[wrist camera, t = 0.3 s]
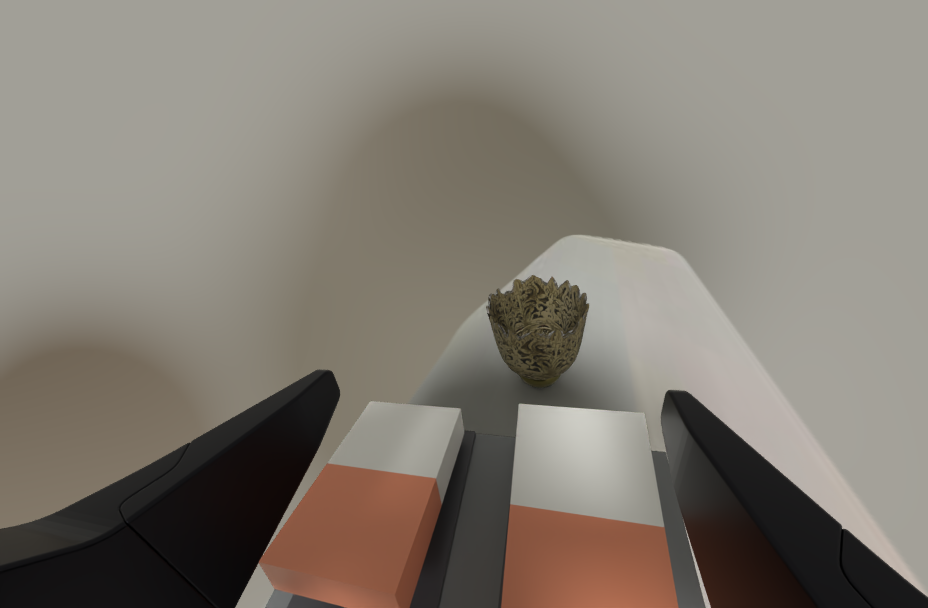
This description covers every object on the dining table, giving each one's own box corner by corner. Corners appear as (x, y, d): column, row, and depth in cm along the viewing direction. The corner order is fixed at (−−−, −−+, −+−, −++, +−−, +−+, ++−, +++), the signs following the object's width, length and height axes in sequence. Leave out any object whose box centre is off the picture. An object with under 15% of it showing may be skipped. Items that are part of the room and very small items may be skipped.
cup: (546, 336, 35) (544, 265, 30) (604, 382, 29) (611, 303, 25) (481, 368, 32) (469, 297, 28) (530, 425, 27) (524, 347, 22)
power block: (719, 940, 11) (815, 1017, 7) (288, 763, 15) (187, 744, 11) (645, 521, 20) (666, 448, 16) (393, 484, 25) (360, 418, 21)
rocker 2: (678, 705, 10) (696, 712, 9) (504, 658, 11) (496, 658, 10) (637, 435, 15) (644, 413, 14) (522, 424, 17) (519, 403, 15)
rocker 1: (407, 629, 11) (394, 594, 10) (278, 595, 13) (258, 562, 12) (465, 438, 18) (460, 408, 17) (378, 429, 20) (370, 400, 19)
